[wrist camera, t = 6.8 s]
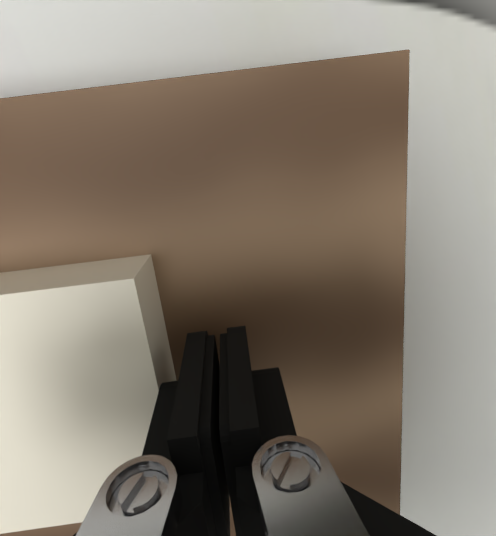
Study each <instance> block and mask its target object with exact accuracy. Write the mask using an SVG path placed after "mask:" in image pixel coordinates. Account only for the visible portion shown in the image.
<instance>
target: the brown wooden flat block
mask: <svg viewBox="0 0 496 536" xmlns="http://www.w3.org/2000/svg"><path fill="white" fill-rule="evenodd" d="M408 96H409V50H402V51H394V52H385V53H377V54H368V55H360V56H352V57H343V58H335V59H327V60H318V61H310V62H302V63H293V64H285V65H277V66H268V67H260V68H251V69H243V70H235V71H226V72H218V73H210V74H201V75H193V76H185V77H176V78H168V79H159V80H151V81H143V82H134V83H126V84H118V85H109V86H101V87H93V88H84V89H76V90H67V91H59V92H51V93H42V94H34V95H26V96H17V97H9V98H1V99H0V273H2V272H10V271H18V270H27V269H35V268H43V267H51V266H59V265H68V264H76V263H84V262H92V261H100V260H109V259H117V258H125V257H133V256H141V255H150V254H151V256H152V261H153V266H154V271H155V276H156V281H157V286H158V291H159V296H160V301H161V306H162V311H163V316H164V321H165V326H166V331H167V336H168V341H169V346H170V351H171V356H172V361H173V366H174V371H175V376H176V381H178V379H179V374H180V368H181V363H182V358H183V353H184V347H185V342H186V337H187V333H192V332H199V331H207V333H208V335H215V339H216V345H217V352H218V358H219V365H220V334H223V333H227V328H230V327H238V326H246V334H247V341H248V348H249V356H250V363H251V371H253V370H261V369H268V368H276V367H278V368H279V370H280V373H281V377H282V381H283V385H284V389H285V392H286V396H287V400H288V404H289V408H290V411H291V415H292V419H293V423H294V427H295V430H296V434H297V436H301V437H304V438H306V439H309V440H311V441H313V442H314V443H315V444H317V445H318V446H320V448H321V449H322V450H323V452H324V453H325V454H326V456H327V458H328V459H329V461H330V463H331V465H332V467H333V469H334V471H335V472H336V474H337V476H338V478H339V480H340V481H341V482H343V483H344V484H346V485H348V486H350V487H351V488H353V489H355V490H357V491H358V492H360V493H362V494H364V495H365V496H367V497H369V498H371V499H373V500H374V501H376V502H378V503H380V504H381V505H383V506H385V507H387V508H388V509H390V510H392V511H394V512H395V513H397V514H399V515H400V482H401V434H402V386H403V337H404V289H405V241H406V193H407V144H408ZM229 500H230V496H229ZM81 524H82V522H81V523H74V524H66V525H59V526H52V527H45V528H38V529H31V530H24V531H17V532H10V533H3V534H0V536H73V535H74V534H75V533H77V532H78V530H79V528H80V526H81ZM230 536H236V532H235V526H234V520H233V514H232V508H231V502H230Z"/></svg>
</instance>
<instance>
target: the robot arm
mask: <svg viewBox="0 0 496 536" xmlns="http://www.w3.org/2000/svg"><path fill="white" fill-rule="evenodd" d="M229 496H230V500H229ZM230 502H231V508H232V514H233V520H234V526H235V532H236V536H436V535H434V534H432V533H431V532H429V531H427V530H425V529H424V528H422V527H420V526H418V525H417V524H415V523H413V522H411V521H410V520H408V519H406V518H404V517H402V516H401V515H399V514H397V513H395V512H394V511H392V510H390V509H388V508H387V507H385V506H383V505H381V504H380V503H378V502H376V501H374V500H373V499H371V498H369V497H367V496H365V495H364V494H362V493H360V492H358V491H357V490H355V489H353V488H351V487H350V486H348V485H346V484H344V483H343V482H341V481H340V480H339V478H338V476H337V474H336V472H335V471H334V469H333V467H332V465H331V463H330V461H329V459H328V458H327V456H326V454H325V453H324V452H323V450H322V449H321V448H320V446H318V445H317V444H315V443H314V442H313V441H311V440H309V439H306V438H304V437H301V436H297V434H296V430H295V427H294V423H293V419H292V415H291V411H290V408H289V404H288V400H287V396H286V392H285V389H284V385H283V381H282V377H281V373H280V370H279V368H278V367H276V368H268V369H261V370H253V371H251V363H250V356H249V348H248V341H247V334H246V326H238V327H230V328H227V333H223V334H220V365H219V358H218V352H217V345H216V339H215V335H208V333H207V331H199V332H192V333H187V337H186V342H185V347H184V353H183V358H182V363H181V368H180V374H179V379H178V381H171V382H164V383H162V384H161V386H160V388H159V392H158V396H157V400H156V403H155V407H154V411H153V415H152V419H151V422H150V426H149V430H148V434H147V438H146V441H145V445H144V449H143V453H142V456H139V457H136V458H134V459H131V460H128V461H127V462H125V463H124V464H122V465H121V466H119V467H117V468H116V469H115V470H114V471H113V472H112V473H111V474H110V475H109V476H108V477H107V479H106V480H105V482H104V483H103V485H102V486H101V488H100V490H99V491H98V493H97V495H96V497H95V499H94V501H93V503H92V505H91V507H90V509H89V511H88V513H87V515H86V517H85V519H84V521H83V522H82V524H81V526H80V528H79V530H78V532H77V533H75V534H74V535H73V536H230Z"/></svg>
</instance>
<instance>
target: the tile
mask: <svg viewBox="0 0 496 536" xmlns="http://www.w3.org/2000/svg"><path fill="white" fill-rule="evenodd" d="M171 381H176V376H175V371H174V366H173V361H172V356H171V351H170V346H169V341H168V336H167V331H166V326H165V321H164V316H163V311H162V306H161V301H160V296H159V291H158V286H157V281H156V276H155V271H154V266H153V261H152V256H151V254H150V255H141V256H133V257H125V258H117V259H109V260H100V261H92V262H84V263H76V264H68V265H59V266H51V267H43V268H35V269H27V270H18V271H10V272H2V273H0V534H3V533H10V532H17V531H24V530H31V529H38V528H45V527H52V526H59V525H66V524H74V523H81V522H83V521H84V519H85V517H86V515H87V513H88V511H89V509H90V507H91V505H92V503H93V501H94V499H95V497H96V495H97V493H98V491H99V490H100V488H101V486H102V485H103V483H104V482H105V480H106V479H107V477H108V476H109V475H110V474H111V473H112V472H113V471H114V470H115V469H116V468H117V467H119V466H121V465H122V464H124V463H125V462H127V461H128V460H131V459H134V458H136V457H139V456H142V453H143V449H144V445H145V441H146V438H147V434H148V430H149V426H150V422H151V419H152V415H153V411H154V407H155V403H156V400H157V396H158V392H159V388H160V386H161V384H162V383H164V382H171Z"/></svg>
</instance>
